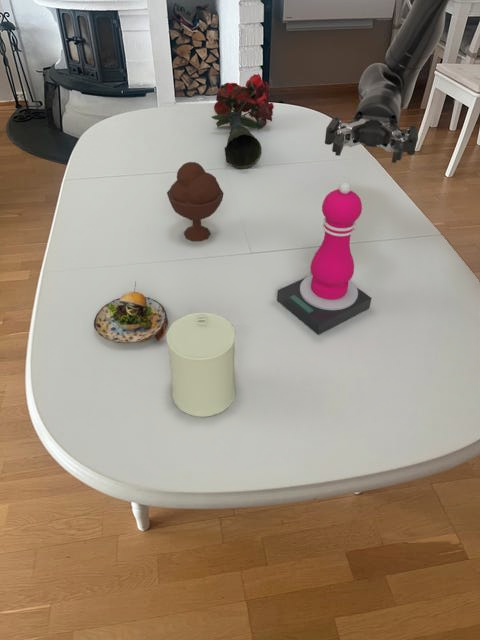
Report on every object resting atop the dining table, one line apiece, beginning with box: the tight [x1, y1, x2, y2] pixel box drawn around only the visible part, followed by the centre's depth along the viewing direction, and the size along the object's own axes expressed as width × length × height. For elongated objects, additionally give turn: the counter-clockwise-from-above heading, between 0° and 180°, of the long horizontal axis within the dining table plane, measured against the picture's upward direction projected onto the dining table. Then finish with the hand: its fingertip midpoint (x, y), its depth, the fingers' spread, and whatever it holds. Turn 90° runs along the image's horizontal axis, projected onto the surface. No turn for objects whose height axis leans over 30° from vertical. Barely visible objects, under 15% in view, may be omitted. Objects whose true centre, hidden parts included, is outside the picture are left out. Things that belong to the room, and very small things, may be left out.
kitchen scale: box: [276, 274, 372, 336], centre depth 91 cm, size 12×11×3 cm
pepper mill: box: [310, 181, 363, 300], centre depth 84 cm, size 7×7×20 cm
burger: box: [93, 281, 169, 344], centre depth 84 cm, size 12×12×8 cm
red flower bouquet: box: [211, 73, 275, 170], centre depth 141 cm, size 16×18×35 cm
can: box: [166, 312, 236, 418], centre depth 72 cm, size 9×9×12 cm
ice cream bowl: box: [166, 161, 225, 242], centre depth 103 cm, size 11×11×15 cm
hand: (366, 153), depth 79 cm, fingers open, 8 cm apart
